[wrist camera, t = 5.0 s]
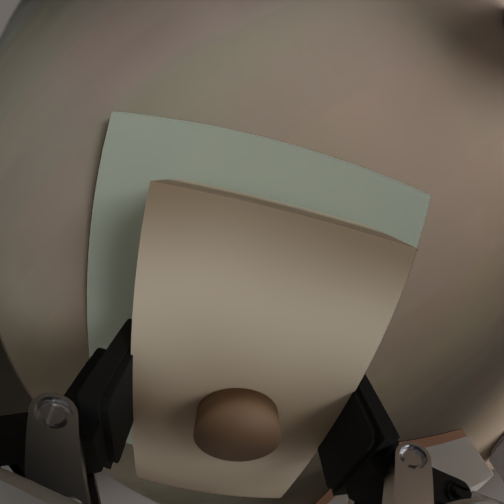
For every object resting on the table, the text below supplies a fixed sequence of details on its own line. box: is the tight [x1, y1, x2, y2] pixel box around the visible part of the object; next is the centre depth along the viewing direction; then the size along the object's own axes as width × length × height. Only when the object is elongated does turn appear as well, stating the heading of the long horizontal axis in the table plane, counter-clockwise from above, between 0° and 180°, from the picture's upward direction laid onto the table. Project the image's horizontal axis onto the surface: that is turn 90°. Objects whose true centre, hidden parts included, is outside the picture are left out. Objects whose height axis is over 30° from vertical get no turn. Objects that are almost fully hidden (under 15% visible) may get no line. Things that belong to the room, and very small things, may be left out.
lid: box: [131, 179, 417, 498], centre depth 9 cm, size 12×6×4 cm, turn 166°
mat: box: [87, 112, 431, 445], centre depth 11 cm, size 16×12×1 cm
